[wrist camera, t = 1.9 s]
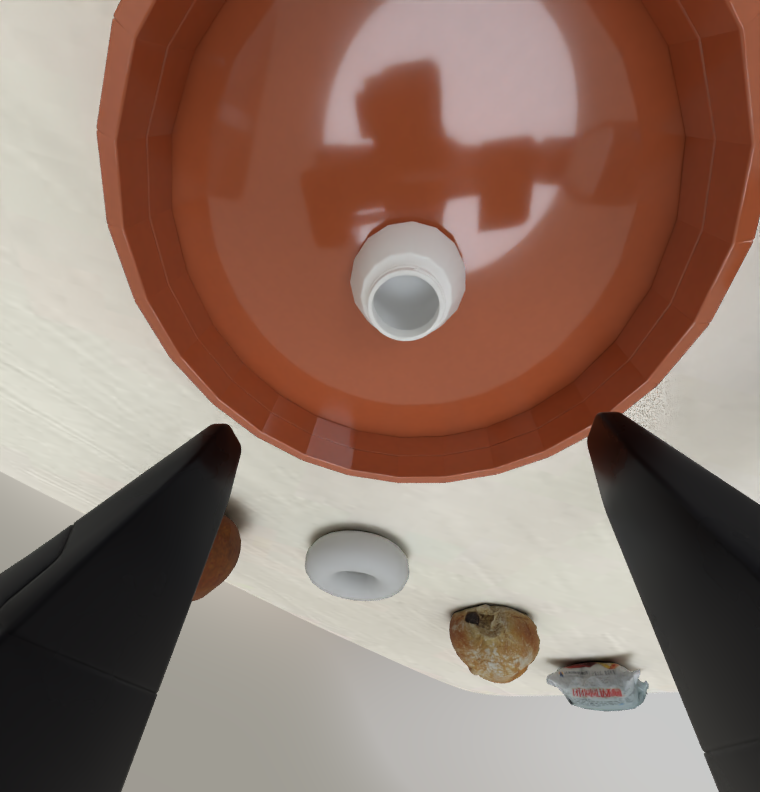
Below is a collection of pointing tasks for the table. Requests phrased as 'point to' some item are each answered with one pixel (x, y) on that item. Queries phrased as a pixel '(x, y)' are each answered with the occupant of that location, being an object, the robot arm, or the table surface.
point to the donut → (357, 565)
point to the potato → (220, 558)
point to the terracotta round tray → (430, 209)
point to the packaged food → (600, 686)
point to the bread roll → (494, 641)
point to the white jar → (408, 280)
